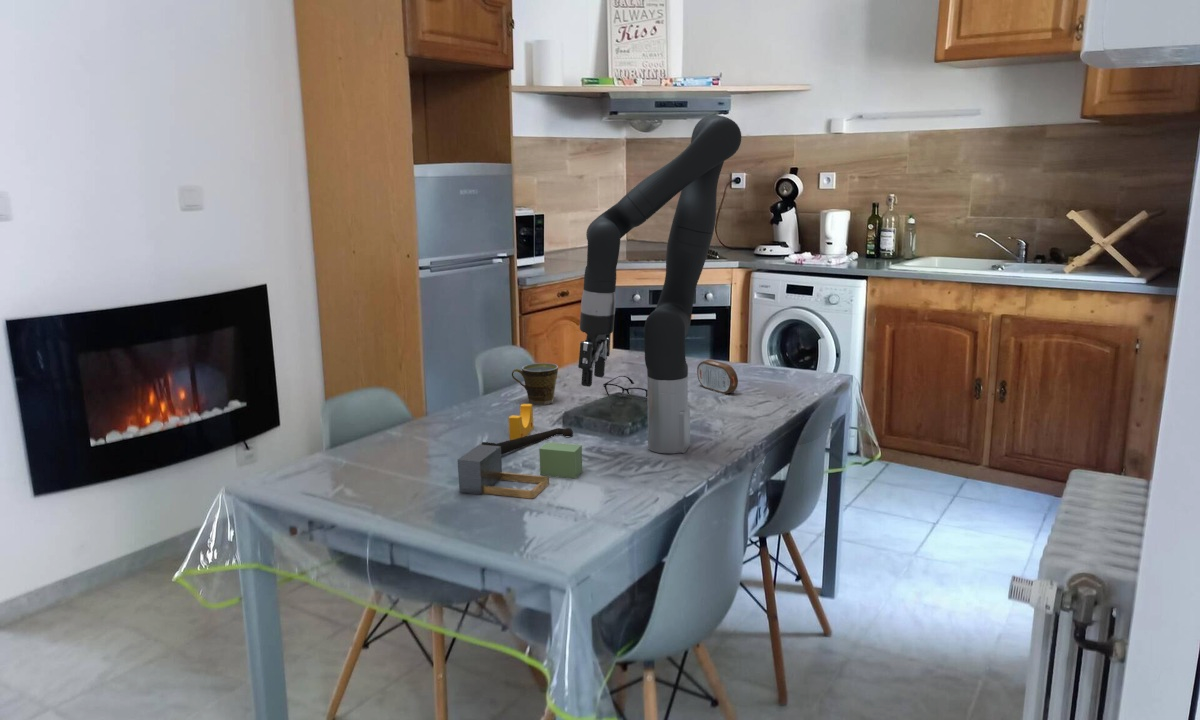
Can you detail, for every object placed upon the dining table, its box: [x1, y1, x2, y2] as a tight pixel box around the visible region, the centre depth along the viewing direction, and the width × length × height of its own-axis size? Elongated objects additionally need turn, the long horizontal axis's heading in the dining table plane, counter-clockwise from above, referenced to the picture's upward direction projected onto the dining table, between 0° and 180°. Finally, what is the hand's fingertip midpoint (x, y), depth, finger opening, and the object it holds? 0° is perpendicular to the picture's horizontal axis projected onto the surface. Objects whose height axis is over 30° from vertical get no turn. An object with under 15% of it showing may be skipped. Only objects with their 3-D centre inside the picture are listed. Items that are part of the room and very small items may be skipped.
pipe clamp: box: [508, 403, 534, 440], centre depth 216 cm, size 12×4×6 cm, turn 169°
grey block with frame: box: [457, 444, 550, 500], centre depth 182 cm, size 16×10×7 cm, turn 72°
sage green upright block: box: [538, 442, 584, 479], centre depth 189 cm, size 8×4×6 cm, turn 72°
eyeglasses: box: [602, 375, 647, 397], centre depth 253 cm, size 16×16×4 cm
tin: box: [696, 358, 739, 395], centre depth 252 cm, size 15×3×8 cm, turn 34°
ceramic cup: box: [511, 362, 559, 406], centre depth 244 cm, size 13×10×10 cm
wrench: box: [480, 427, 574, 456], centre depth 205 cm, size 5×5×30 cm
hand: (592, 381), depth 198 cm, fingers open, 8 cm apart
